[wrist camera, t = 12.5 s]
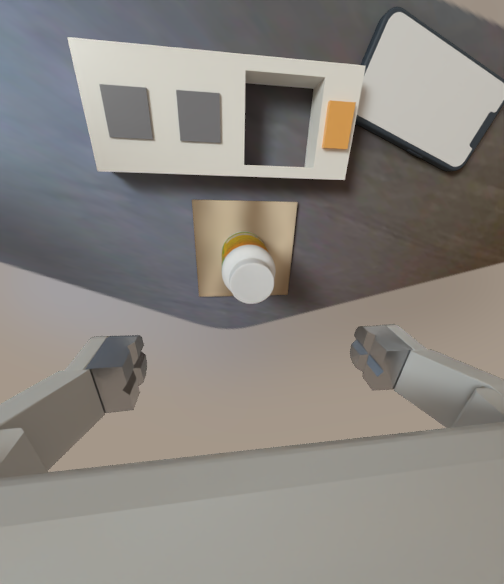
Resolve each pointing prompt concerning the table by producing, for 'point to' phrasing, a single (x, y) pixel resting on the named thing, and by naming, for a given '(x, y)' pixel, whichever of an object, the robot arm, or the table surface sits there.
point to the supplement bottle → (247, 268)
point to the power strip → (204, 108)
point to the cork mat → (237, 218)
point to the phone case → (426, 92)
